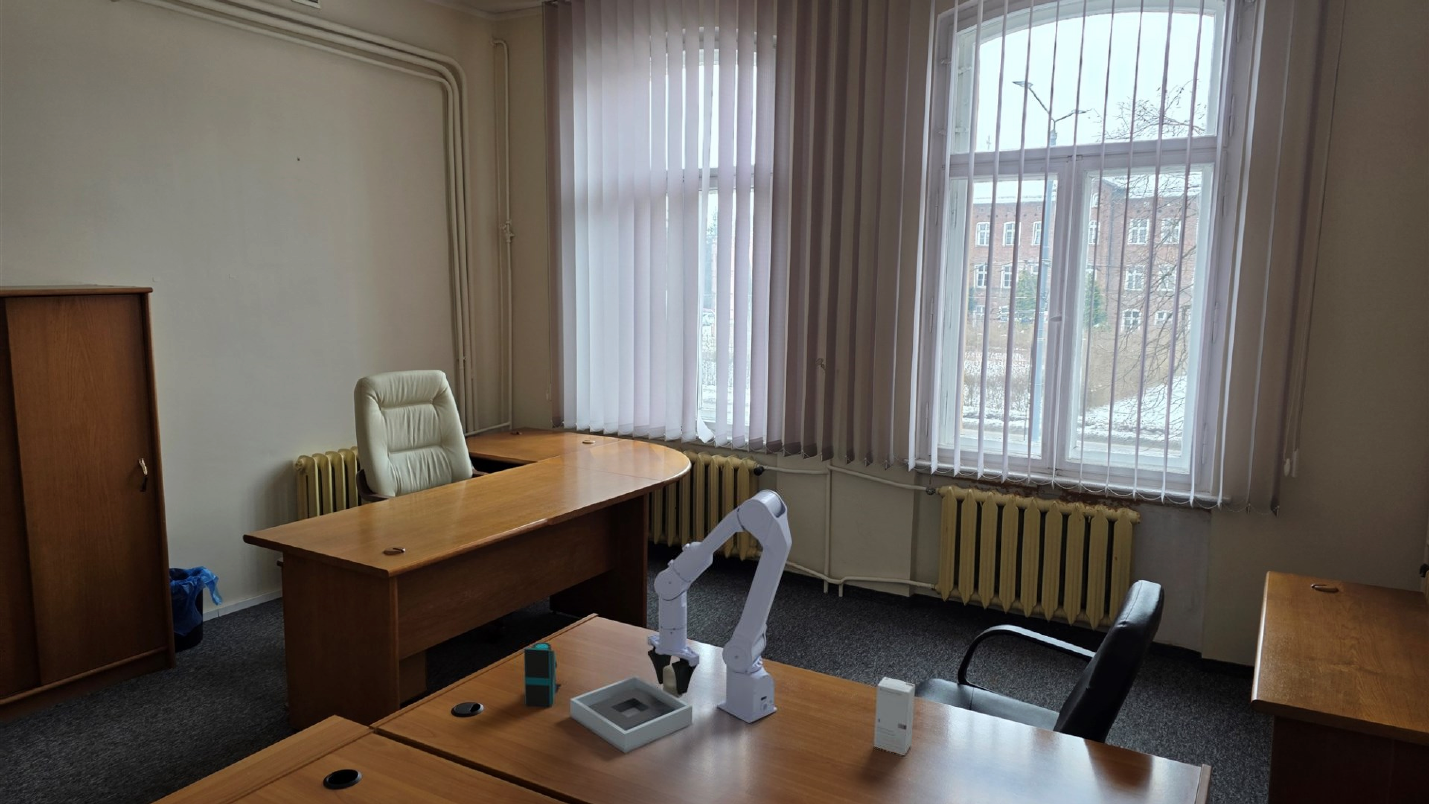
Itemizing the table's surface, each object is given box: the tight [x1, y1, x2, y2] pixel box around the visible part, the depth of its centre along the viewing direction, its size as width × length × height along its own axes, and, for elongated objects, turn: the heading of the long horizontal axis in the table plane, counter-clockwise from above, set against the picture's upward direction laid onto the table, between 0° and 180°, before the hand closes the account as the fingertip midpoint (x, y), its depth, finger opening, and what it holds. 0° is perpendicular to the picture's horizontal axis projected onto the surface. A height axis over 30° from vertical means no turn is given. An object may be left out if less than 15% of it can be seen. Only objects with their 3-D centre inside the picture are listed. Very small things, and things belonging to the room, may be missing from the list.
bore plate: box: [587, 688, 674, 731], centre depth 162 cm, size 12×12×2 cm
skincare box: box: [873, 676, 916, 755], centre depth 152 cm, size 6×4×12 cm
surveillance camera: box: [523, 642, 562, 709], centre depth 171 cm, size 6×12×10 cm
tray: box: [569, 675, 693, 754], centre depth 162 cm, size 18×16×4 cm
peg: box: [662, 664, 683, 699], centre depth 173 cm, size 4×4×6 cm
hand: (672, 687), depth 173 cm, fingers open, 6 cm apart
